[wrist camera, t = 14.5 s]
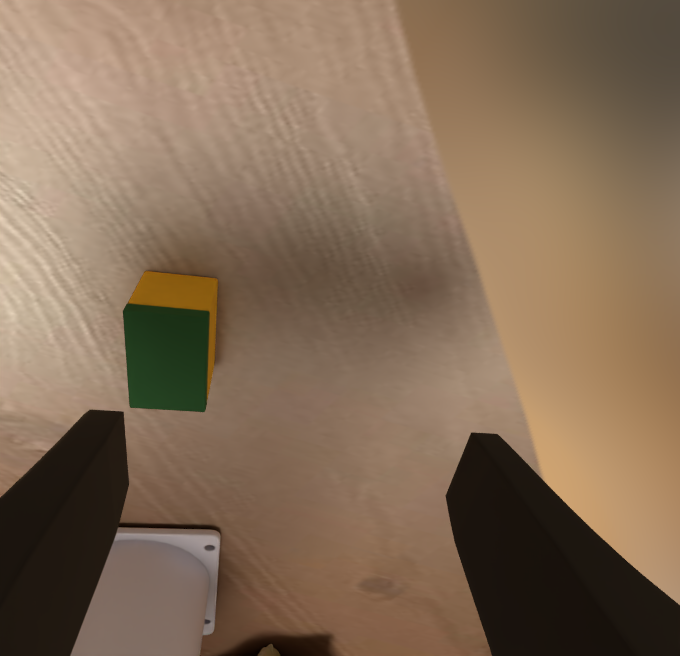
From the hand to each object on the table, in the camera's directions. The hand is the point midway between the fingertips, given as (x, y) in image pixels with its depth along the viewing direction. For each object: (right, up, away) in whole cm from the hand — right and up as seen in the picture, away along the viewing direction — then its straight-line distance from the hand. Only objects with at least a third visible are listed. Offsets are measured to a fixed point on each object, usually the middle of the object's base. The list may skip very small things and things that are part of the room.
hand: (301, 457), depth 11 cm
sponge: (-5, +3, +9) cm, 11 cm away
